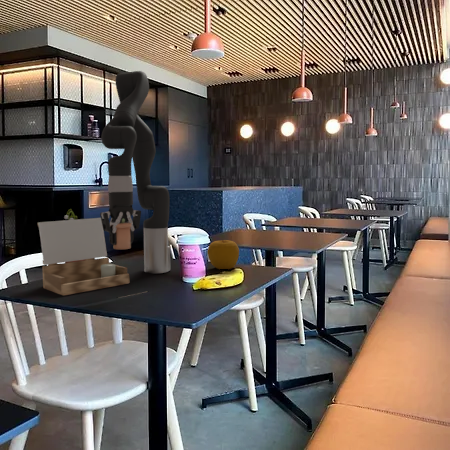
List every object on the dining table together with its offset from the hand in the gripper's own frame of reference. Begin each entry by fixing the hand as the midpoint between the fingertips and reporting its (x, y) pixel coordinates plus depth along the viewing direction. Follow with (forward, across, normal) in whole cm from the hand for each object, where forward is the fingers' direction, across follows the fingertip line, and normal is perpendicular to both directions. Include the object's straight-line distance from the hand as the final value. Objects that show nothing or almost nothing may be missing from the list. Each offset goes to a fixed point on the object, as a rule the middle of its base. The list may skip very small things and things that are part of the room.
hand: (121, 243), depth 157 cm
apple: (+16, -51, -6) cm, 54 cm away
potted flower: (+16, -4, -39) cm, 42 cm away
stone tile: (+16, 0, 0) cm, 16 cm away
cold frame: (+16, +5, -16) cm, 23 cm away
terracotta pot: (+1, 0, 0) cm, 1 cm away
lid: (0, +5, -21) cm, 22 cm away
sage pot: (+15, -2, -13) cm, 20 cm away
